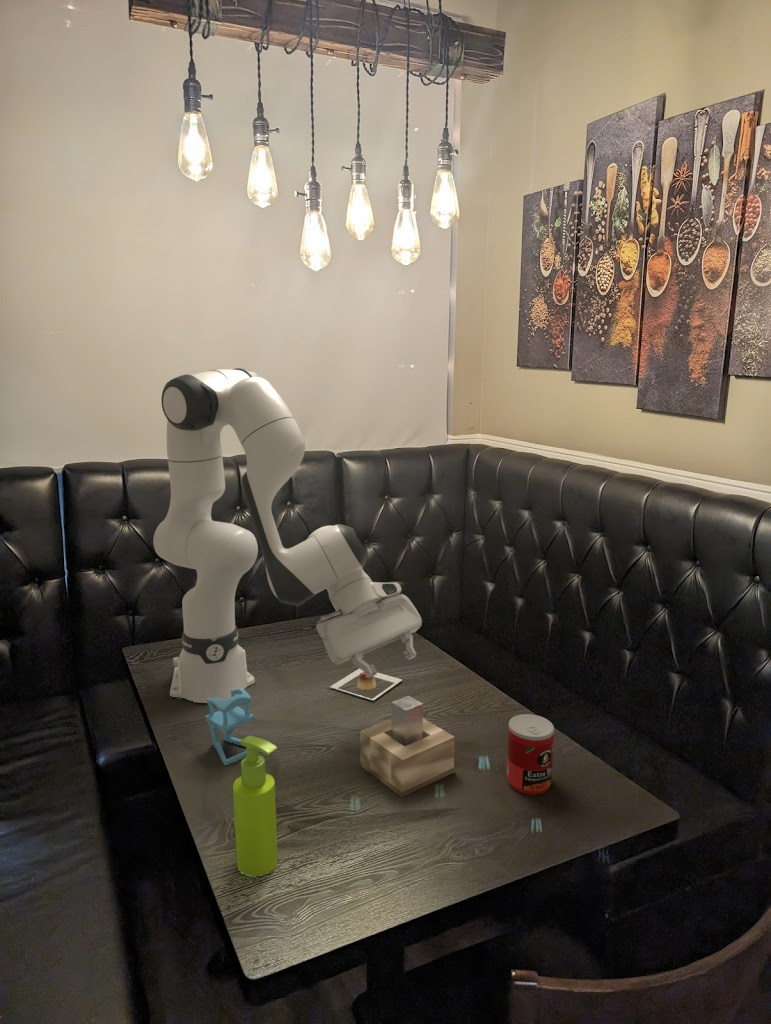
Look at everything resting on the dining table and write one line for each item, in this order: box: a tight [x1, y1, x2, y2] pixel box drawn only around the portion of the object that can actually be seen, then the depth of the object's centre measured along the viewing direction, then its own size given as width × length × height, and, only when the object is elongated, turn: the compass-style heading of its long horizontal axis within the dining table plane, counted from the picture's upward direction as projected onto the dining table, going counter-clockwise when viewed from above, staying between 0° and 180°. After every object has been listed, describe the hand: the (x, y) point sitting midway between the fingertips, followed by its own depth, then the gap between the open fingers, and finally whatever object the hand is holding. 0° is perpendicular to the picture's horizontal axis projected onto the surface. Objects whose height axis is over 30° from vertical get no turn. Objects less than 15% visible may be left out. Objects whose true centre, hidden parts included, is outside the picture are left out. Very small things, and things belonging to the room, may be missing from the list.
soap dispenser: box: [232, 734, 279, 876], centre depth 101 cm, size 6×7×20 cm
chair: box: [205, 689, 255, 766], centre depth 132 cm, size 8×8×12 cm
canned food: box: [506, 713, 555, 796], centre depth 121 cm, size 8×8×11 cm
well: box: [359, 717, 456, 798], centre depth 126 cm, size 12×12×7 cm
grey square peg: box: [390, 695, 424, 746], centre depth 125 cm, size 4×4×12 cm
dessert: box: [329, 668, 403, 702], centre depth 159 cm, size 12×12×5 cm
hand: (393, 666), depth 130 cm, fingers open, 8 cm apart
